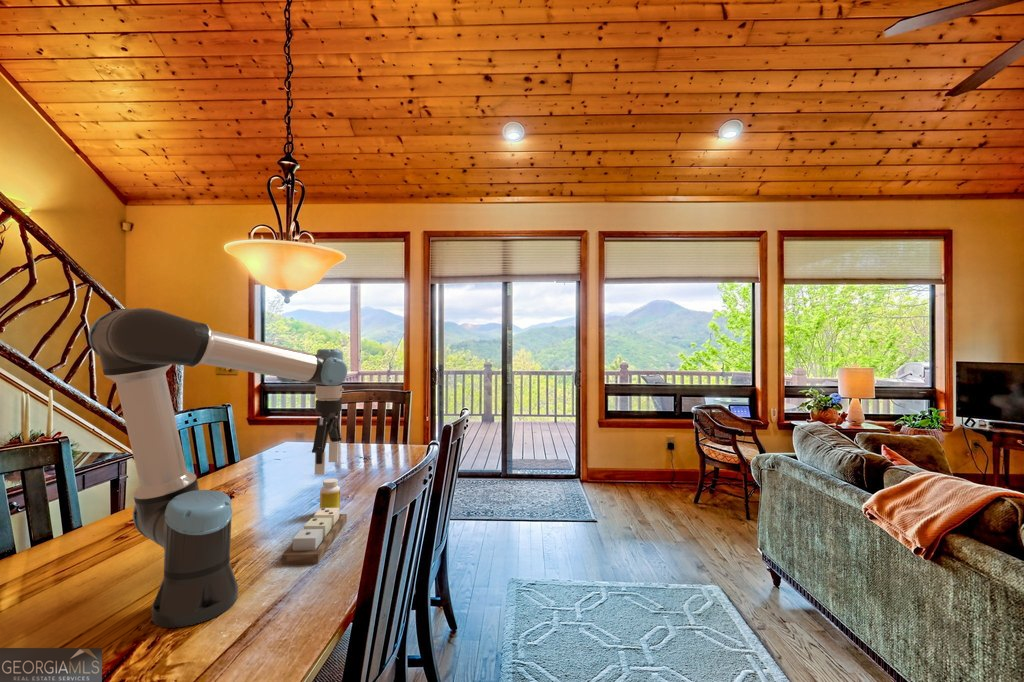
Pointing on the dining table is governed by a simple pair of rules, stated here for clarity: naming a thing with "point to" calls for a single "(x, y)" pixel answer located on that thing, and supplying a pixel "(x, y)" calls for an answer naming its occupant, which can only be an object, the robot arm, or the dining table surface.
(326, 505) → the pill bottle
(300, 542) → the tile one
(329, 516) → the tile three
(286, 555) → the tile tray
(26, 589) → the dining table surface
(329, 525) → the tile two
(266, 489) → the dining table surface
